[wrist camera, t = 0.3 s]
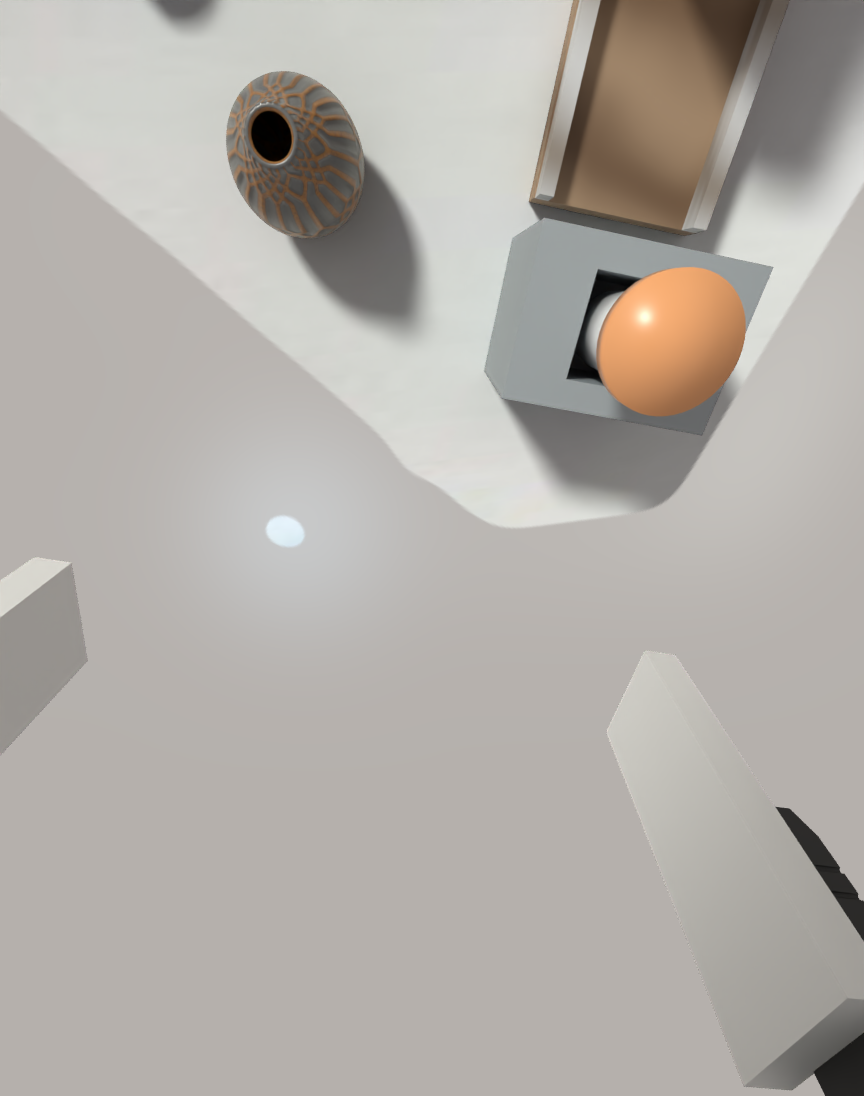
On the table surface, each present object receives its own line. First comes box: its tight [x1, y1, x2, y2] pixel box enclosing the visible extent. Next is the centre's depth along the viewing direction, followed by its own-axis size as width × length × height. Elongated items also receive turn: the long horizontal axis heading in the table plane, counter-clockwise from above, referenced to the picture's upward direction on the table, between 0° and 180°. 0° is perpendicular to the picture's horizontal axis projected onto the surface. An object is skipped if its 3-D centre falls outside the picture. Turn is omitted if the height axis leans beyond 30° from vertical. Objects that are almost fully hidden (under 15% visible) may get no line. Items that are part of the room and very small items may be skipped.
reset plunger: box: [575, 267, 746, 416], centre depth 24 cm, size 6×6×8 cm
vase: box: [226, 71, 364, 238], centre depth 26 cm, size 7×7×9 cm
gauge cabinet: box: [484, 218, 773, 435], centre depth 29 cm, size 8×12×10 cm
